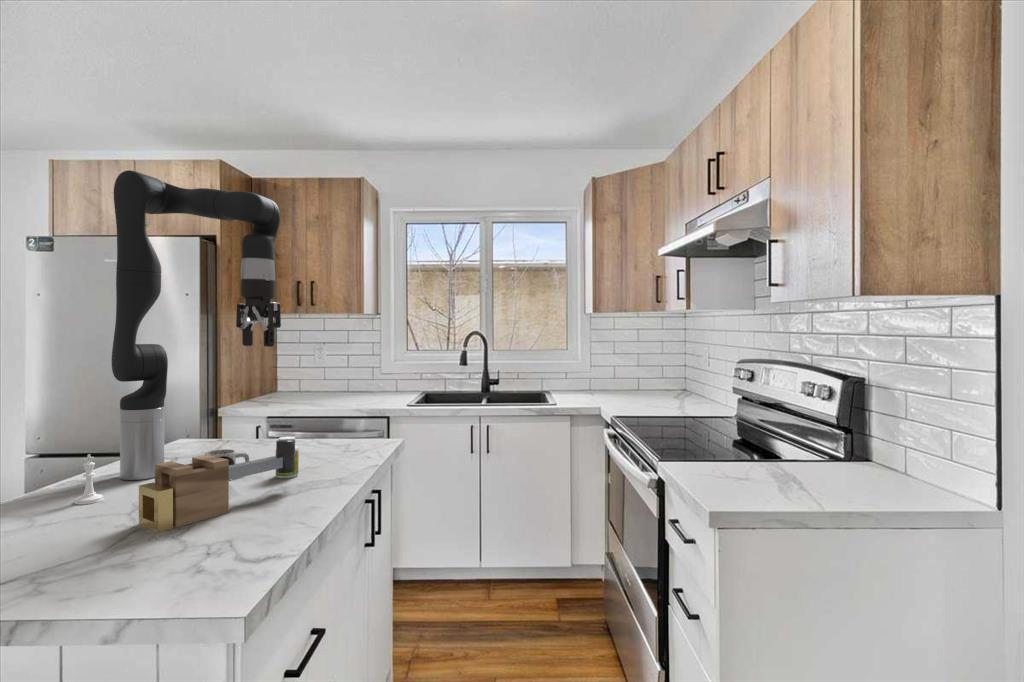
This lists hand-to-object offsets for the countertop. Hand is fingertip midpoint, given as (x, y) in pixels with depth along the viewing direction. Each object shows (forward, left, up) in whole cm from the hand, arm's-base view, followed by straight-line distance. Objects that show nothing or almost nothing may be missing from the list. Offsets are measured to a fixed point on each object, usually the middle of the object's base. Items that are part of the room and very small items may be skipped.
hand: (258, 346), depth 130 cm
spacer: (+11, -28, -33) cm, 45 cm away
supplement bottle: (0, +8, -33) cm, 34 cm away
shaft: (+11, -11, -29) cm, 32 cm away
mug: (-11, -1, -33) cm, 35 cm away
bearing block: (+11, -21, -33) cm, 41 cm away
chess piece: (-17, -28, -33) cm, 47 cm away
